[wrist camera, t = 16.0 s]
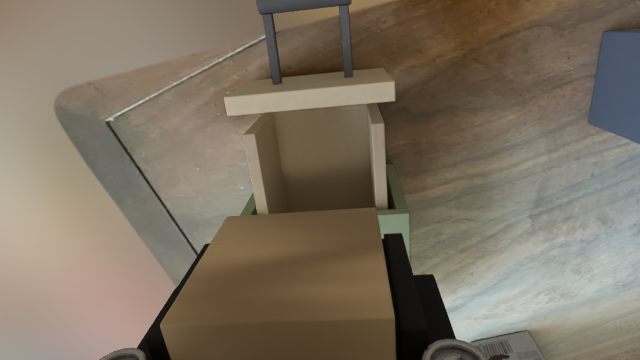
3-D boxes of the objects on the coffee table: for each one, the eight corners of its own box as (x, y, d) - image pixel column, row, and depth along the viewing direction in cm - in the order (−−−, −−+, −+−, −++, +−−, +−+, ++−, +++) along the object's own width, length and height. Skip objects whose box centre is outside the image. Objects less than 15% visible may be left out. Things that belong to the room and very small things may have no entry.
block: (376, 206, 11) (394, 316, 7) (382, 327, 13) (400, 474, 8) (226, 216, 11) (157, 325, 7) (251, 331, 13) (207, 473, 9)
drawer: (239, -1, 28) (202, -10, 21) (380, -18, 27) (391, -34, 20) (277, 227, 35) (259, 278, 28) (389, 221, 34) (400, 272, 27)
